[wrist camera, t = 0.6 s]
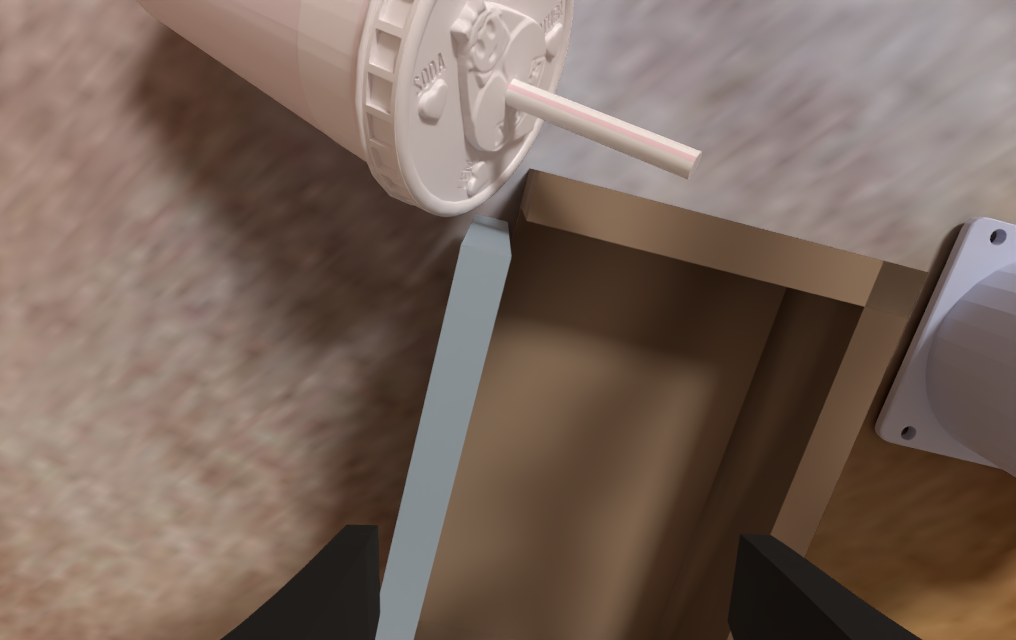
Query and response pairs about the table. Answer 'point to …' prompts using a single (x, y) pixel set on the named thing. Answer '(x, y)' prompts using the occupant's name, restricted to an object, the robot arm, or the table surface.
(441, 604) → the box
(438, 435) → the panel
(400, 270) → the table surface
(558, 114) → the smoothie
